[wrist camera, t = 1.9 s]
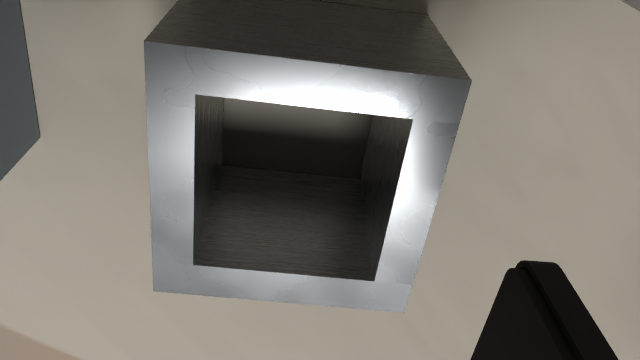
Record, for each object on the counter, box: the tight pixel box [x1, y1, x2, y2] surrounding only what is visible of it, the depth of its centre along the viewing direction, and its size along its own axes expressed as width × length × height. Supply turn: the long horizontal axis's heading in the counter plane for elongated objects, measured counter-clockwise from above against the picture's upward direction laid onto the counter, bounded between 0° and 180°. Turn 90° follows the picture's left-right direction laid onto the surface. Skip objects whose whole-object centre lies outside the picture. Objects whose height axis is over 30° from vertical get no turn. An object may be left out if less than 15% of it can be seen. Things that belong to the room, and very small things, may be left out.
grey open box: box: [144, 0, 472, 313], centre depth 15 cm, size 7×7×5 cm
